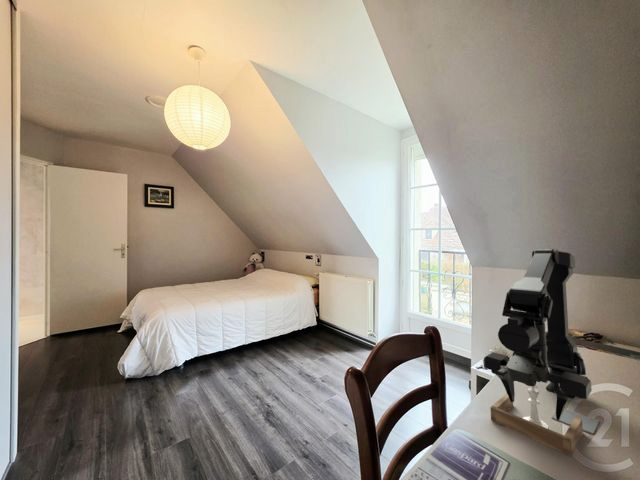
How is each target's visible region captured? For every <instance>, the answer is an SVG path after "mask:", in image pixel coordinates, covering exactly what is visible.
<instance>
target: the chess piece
mask: <svg viewBox="0 0 640 480" xmlns="http://www.w3.org/2000/svg"><path fill="white" fill-rule="evenodd" d="M535 388H536V389H535ZM527 391H528V394H529V398H528V399H527V402H528V403H530V412H529V416H523V417H522V418H523V419H525V420H528V421H530V422H533V423H535V424H537V425H540V426H542V427H545V428H547V429H549V425H548V424H547V423H546V422H545V421H543V420H542V419H540V415H539V411H538V405H540V401H539V400H538V399H537V398H538V395H539V394H540V393H539V391H538V384H536V385H535V386H530V388H527Z"/></svg>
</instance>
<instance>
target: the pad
mask: <svg viewBox="0 0 640 480" xmlns="http://www.w3.org/2000/svg"><path fill="white" fill-rule="evenodd" d="M575 417H578V418H581V419H582V428H583V432H586V433H589V434H591V435H594V434H595V432H596V430H597V428H598V426H599V423H600V420H599V419H596V418H593V417H589V416H587V415H584V414H582V413H578V412H575V411H572V410H570V409H567V408H564V410H563V413H562V415H561V417H560V419H559V420H557V419H556V411H555V412H554V413H553V415H552V416H551V419H553V420H555V421H557V422H560V423H563V424H565V425H567V426H570V425H571V423H572V422H573V420H574V419H575Z"/></svg>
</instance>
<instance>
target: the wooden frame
mask: <svg viewBox="0 0 640 480" xmlns="http://www.w3.org/2000/svg"><path fill="white" fill-rule="evenodd" d="M512 407H514V402H511V401H510V399H509V396H508V394H507V393H506V394H504V395H503V396H502V397H501V398H499V399H498V400H497V401H496V402H495V403H494V404H492V405H491V406H490V420H491V421H492V422H494V423H496V424H499V425H501V426H504V427H506V428H508V429H509V430H512V431H514V432H516V433H518V434H520V435H523V436H525V437H527V438H529V439H532V440H534V441H537V442H539V443H540V444H543V445H545V446H546V447H550V448H551V449H554V450H555V451H558V452H560V453H563V454H564V455H567V456H570V457H571V456H572V455H573V453H574V450H575V448H576V447H577V445H578V443H579V441H580V440H581V438H582V435H583V433H584V431H583V428H582V419H581V418H578V417H575V419H574V420H573V422H572V423H571V425H569V427H568V428H567V431H566V432H565V433H564V434H562V433H559V432H557V431H554V430H552V429H547V428H545V427H542V426H540V425H537V424H535V423H533V422H530V421H528V420H525V419H523V417H521V416H518V415H515V414H514V413H511V412H509V410H510V409H512Z"/></svg>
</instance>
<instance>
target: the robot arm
mask: <svg viewBox="0 0 640 480" xmlns="http://www.w3.org/2000/svg"><path fill="white" fill-rule="evenodd" d="M575 268H576V258H575V256H574V255H573V254H572V253H570V252H568V251H560V250H558V249H554V248H537V249H535V250H534V249H533V250H532V253H531V260H530V262H529V265H528V267H527V269H526V272H525V273H524V276H523V278H521V279H520V280H517V281H515V282H514V283H513V284H512V285H511V287H510V288H509V290H508V291H507V292H506V295H505V300H504V304H503V305H504V306H503V309H502V313H501V314H502V315H501V316H503V317H507V323H505V324H503V325H502V326H501V327H500V328H499V329H498V332H497V336H498V340H499V342H500V343H501V345H502V346H504V347H505V349H507V350H509V351H511V352H512V354H511V356H509V355H506V354H502V353H498V352H495V351H493V352H491V353H489V354H487V355H485V356H484V357H483V361H482V362H483V363H482V364H483V368H484V369H487V370H489V371H490V370H491V373H492V374H493V375H495V376H497V377H498V378H499V379H500V382H502V385H503V387H504V390H505V392H506V394H508V396H509V399H510V401H511V402H513V403H514V402H515V395H516V394H515V382H519V383H521V384H524V385H526V386H527V387H531V386H535V385H537V383H541V382H542V383H545V384H547V383H548V382H549V383H548V384H547V385H546V386H545V389H546V390H547V391H549V392H552V393H553V392H554V393H555V396H556V405H555V412H556V419H557V420H559V419H560V417H561V415H562V413H563V410H564V409H566V405H567V403H568V401H569V399H571V400H577V399H578V398H579V399H584V400H587V399H588V398H589V396H590V394H591V393H592V382H591V379H589V378H588V377H587V376H586V375H587V371H586V364H585V361H584V359H583V358H582V354H581V353H580V352H578V345H577V343H576V342H575V341H574V339H573V338H572V336H570V333H569V318H568V317H569V315H568V301H567V300H568V299H567V297H568V296H567V282H568V281H569V279H570V278H572V276H573V274H574V269H575ZM546 322H547V323H546ZM546 325H547V333H546ZM557 420H556V421H557Z"/></svg>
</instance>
